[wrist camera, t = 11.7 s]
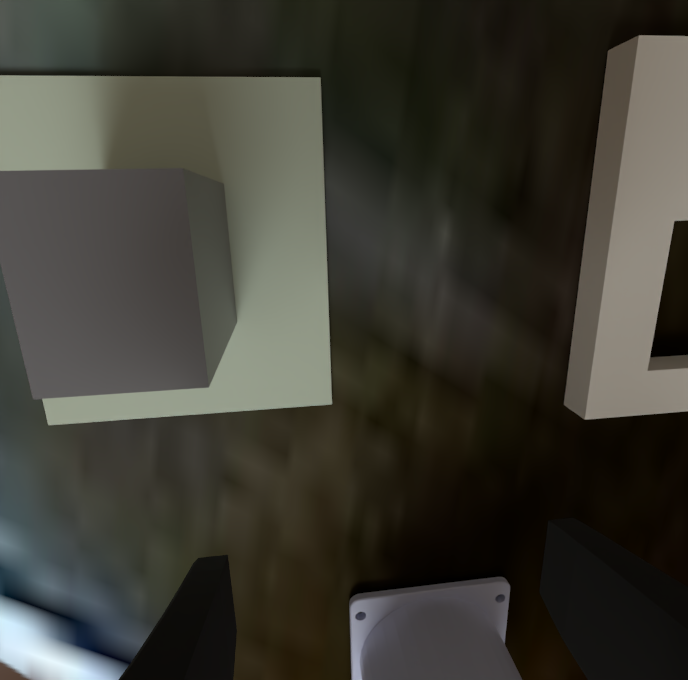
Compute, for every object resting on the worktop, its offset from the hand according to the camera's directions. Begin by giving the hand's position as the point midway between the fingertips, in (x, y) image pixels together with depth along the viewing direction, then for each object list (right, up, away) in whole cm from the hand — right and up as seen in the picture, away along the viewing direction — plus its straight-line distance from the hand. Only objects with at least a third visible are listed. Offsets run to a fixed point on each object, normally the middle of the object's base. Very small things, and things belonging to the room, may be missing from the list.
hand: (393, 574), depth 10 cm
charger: (-7, +8, +6) cm, 13 cm away
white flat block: (+14, +9, +9) cm, 19 cm away
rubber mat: (-7, +8, +7) cm, 13 cm away
